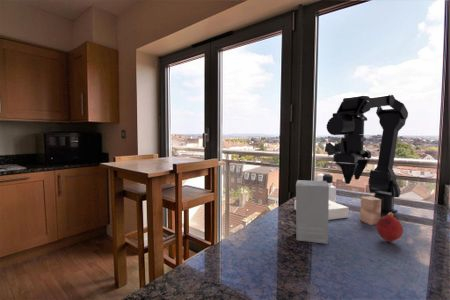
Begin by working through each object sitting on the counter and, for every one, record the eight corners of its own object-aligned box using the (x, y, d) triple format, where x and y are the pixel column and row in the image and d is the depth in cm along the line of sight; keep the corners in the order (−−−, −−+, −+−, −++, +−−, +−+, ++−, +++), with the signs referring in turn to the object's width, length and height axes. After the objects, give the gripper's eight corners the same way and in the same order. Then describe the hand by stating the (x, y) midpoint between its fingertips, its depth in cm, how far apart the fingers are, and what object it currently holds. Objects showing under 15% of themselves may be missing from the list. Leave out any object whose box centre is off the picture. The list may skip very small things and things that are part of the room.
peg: (369, 219, 80) (370, 196, 80) (380, 223, 77) (381, 199, 76) (360, 220, 79) (361, 197, 79) (370, 224, 75) (371, 200, 75)
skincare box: (326, 235, 67) (328, 180, 66) (328, 246, 60) (330, 185, 59) (295, 231, 70) (296, 178, 69) (294, 241, 63) (295, 182, 62)
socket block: (322, 206, 94) (322, 197, 94) (348, 217, 82) (348, 207, 82) (294, 209, 91) (294, 200, 90) (316, 221, 78) (317, 210, 78)
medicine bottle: (329, 199, 105) (330, 173, 104) (335, 204, 97) (336, 175, 97) (313, 199, 105) (314, 172, 104) (317, 203, 98) (318, 175, 97)
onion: (394, 248, 59) (395, 217, 59) (371, 239, 64) (372, 211, 64) (406, 244, 62) (408, 214, 62) (383, 235, 67) (384, 208, 67)
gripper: (338, 134, 90) (337, 174, 91) (317, 135, 77) (316, 182, 78) (372, 134, 82) (370, 178, 83) (354, 135, 69) (353, 187, 70)
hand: (352, 181), depth 79 cm, fingers open, 9 cm apart
